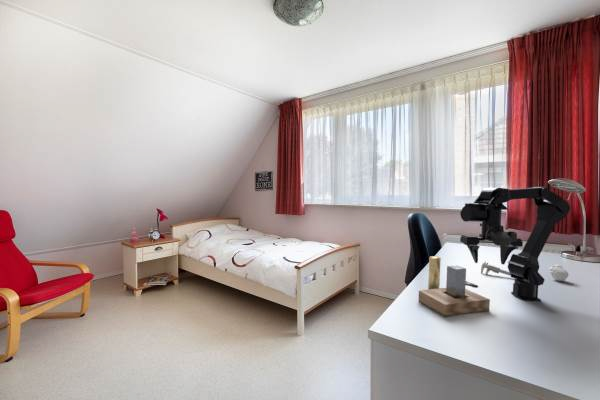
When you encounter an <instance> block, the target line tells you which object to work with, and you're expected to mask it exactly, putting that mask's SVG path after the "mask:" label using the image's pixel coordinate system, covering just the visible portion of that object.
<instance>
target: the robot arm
mask: <svg viewBox="0 0 600 400" xmlns="http://www.w3.org/2000/svg"><path fill="white" fill-rule="evenodd" d="M522 199H532V201H533V204H534V205H535V206H536V207H537V209H536V214H537V215H536V216H537V218H538V219H537V220H536V223H535V225H534V227H533V229H532V231H531V232H530V235H529V237H528V239H527V240H526V243H525V244H523V243H524V242H523V240H522V238H520V237H518V233H517V232H516V231H511V230H509V231H505V230H504V229H505V228H504V225H502V211H507V210H508V207H507V206H505V205H504V203H508V202H510V201H511V200H522ZM570 211H571V206H570V203H569V202H568V201H567V200H566V199H564V198H563V196H560V195H558V194H557V193H554V192H553V191H552V190H551V189H550V188H548V187H546V186H533V187H523V188H504V187H484V188H483V189H482V190H481V191H480V194H479V195H478V196H477V198H475V200H474V202H465V203H464V206H463V207H462V208H461V211H460V218H461V220H462V221H463V222H471V223H479V222H480V223H479V227H481V232H480V233H479V235H478V236H479V237H478V236H476V235H473V234H462V235H460V239H459V242H460V243H463V245H465V246H467V248H468V250H469V252H470V254H471V256H472V259H473V262H474V263H475V264H478V262H479V248H480V245H479V244H480V243H481V244H494V246H497V247H498V246H499V250H500V252H499V253H500V264H501V265H505V264H506V262H507V259H508V258H509V256H510V254H511V253H512V252H513V251H514V250H518V249H519V248H522V247H523V249H522V250H521V252H520V253H518V254H516V253H512V255H511V256H510V259H509V261H508V262H507V269H508V272H510V275H511V276H510V275H509V276H510V278H512V279H514V282H513V284H512V285H513V286H512V291H510V294H512V295H514V296H515V297H517V298H519V299H520V300H522V301H535V302H536V301H538V302H542V299H541V298H539V297H538V296H539V286H542V285H544V283H545V281H546V279H545V278H544V277H543V276H542V274H540V273H539V269H540V263H539V262H540V261H539V257H540V255H541V253H542V251H543V249H544V247H545V245H546V243H547V241H548V239H549V237H550V235H551V234H552V231H553V229H554V227H555V226H556V224H558V223H559V222H561V221H563V220H564V219H565V218H566V217H567V215H568V214H569V213H570ZM523 245H524V246H523Z"/></svg>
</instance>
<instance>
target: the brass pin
mask: <svg viewBox="0 0 600 400" xmlns="http://www.w3.org/2000/svg"><path fill="white" fill-rule="evenodd" d="M428 258H429V260H428V262H429V263H428V284H427V285H428V286H427V287H428V289H438V288H440V282H441V281H440V280H441V257H440V256H433V255H432V256H431V255H430V256H429V257H428ZM428 289H427V290H428Z"/></svg>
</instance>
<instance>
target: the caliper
mask: <svg viewBox="0 0 600 400" xmlns="http://www.w3.org/2000/svg"><path fill="white" fill-rule="evenodd" d="M480 268H481V269H480V273H481V274H483V272H484V270H485V269H486V271H485V275H488V273H489V272H491V271H492V273H496V274H499V273H500V274H504V275H507V276H510V277H511V275H510V272H509V270H504V269H501V268H500V267H497V266H495V265H491V264H489V262H486V261H484V262H482V265H481V267H480Z"/></svg>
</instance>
